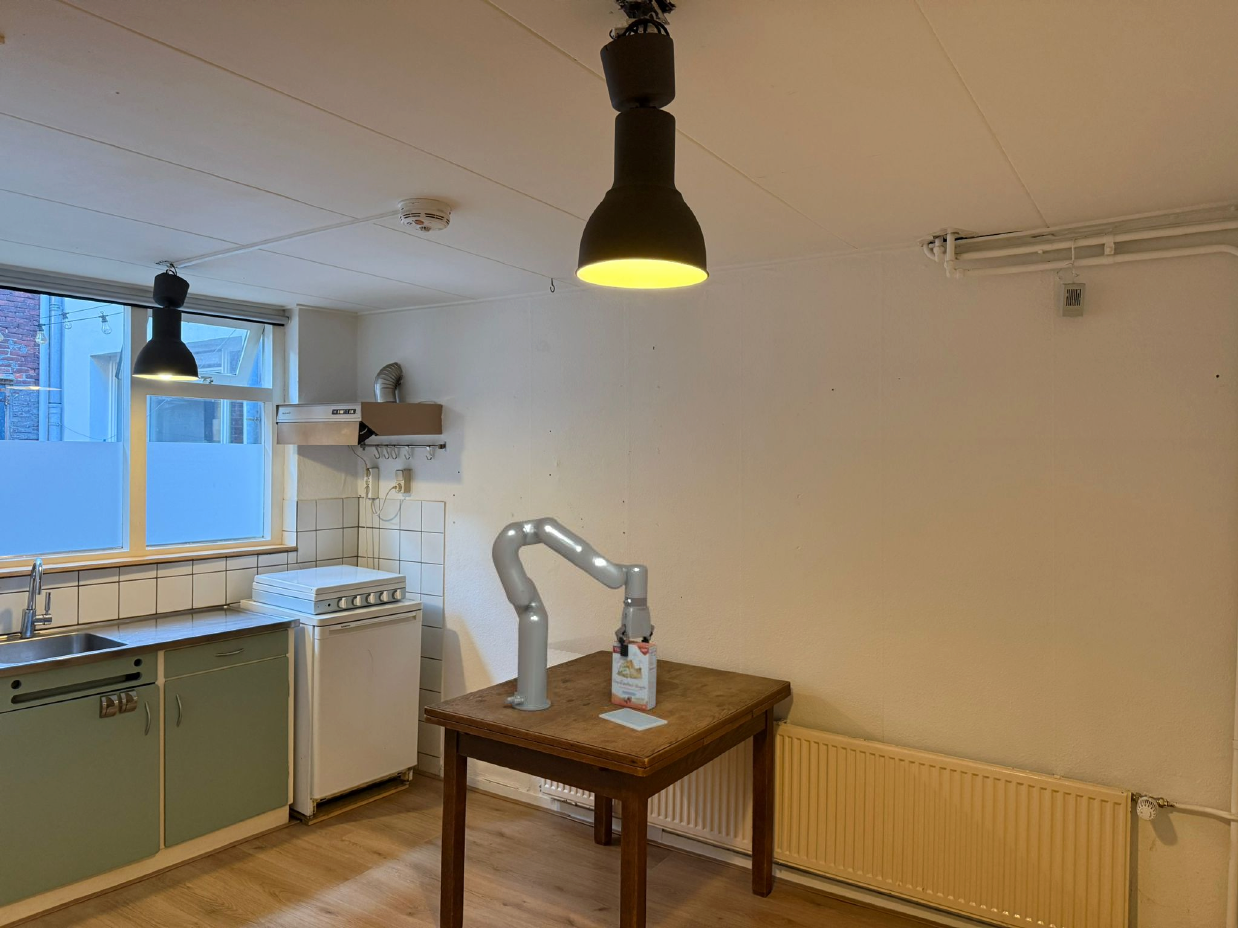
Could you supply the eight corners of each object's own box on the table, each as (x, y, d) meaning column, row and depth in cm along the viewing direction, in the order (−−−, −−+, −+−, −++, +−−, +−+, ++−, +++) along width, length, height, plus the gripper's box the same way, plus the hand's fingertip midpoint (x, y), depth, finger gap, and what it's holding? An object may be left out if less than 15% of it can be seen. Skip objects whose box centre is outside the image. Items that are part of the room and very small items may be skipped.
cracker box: (610, 704, 273) (612, 640, 273) (620, 700, 278) (621, 638, 278) (646, 711, 265) (648, 646, 266) (656, 707, 271) (657, 643, 271)
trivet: (639, 730, 246) (639, 728, 246) (599, 716, 259) (599, 714, 259) (667, 722, 254) (667, 720, 254) (626, 709, 267) (626, 707, 267)
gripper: (624, 606, 263) (623, 659, 263) (662, 601, 275) (661, 652, 275) (608, 603, 269) (607, 655, 269) (646, 598, 281) (645, 648, 281)
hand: (634, 654), depth 272 cm, fingers open, 9 cm apart
